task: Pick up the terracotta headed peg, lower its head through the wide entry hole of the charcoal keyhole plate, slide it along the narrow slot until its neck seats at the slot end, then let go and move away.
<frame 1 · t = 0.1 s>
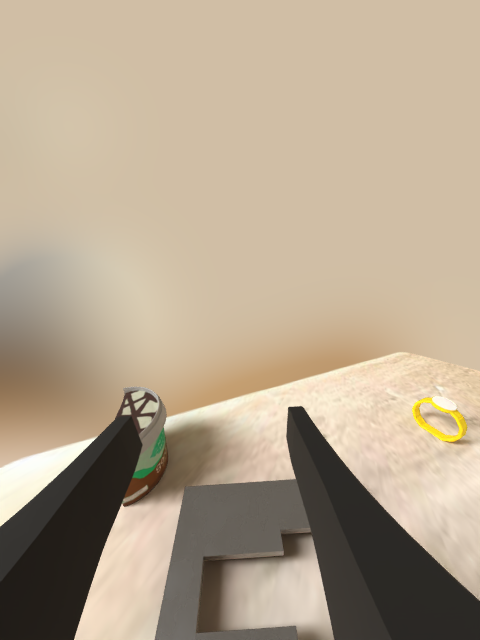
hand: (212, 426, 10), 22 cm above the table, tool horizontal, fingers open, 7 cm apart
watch: (432, 432, 32), on the table
keyhole plate: (271, 599, 18), on the table
food container: (154, 463, 30), on the table
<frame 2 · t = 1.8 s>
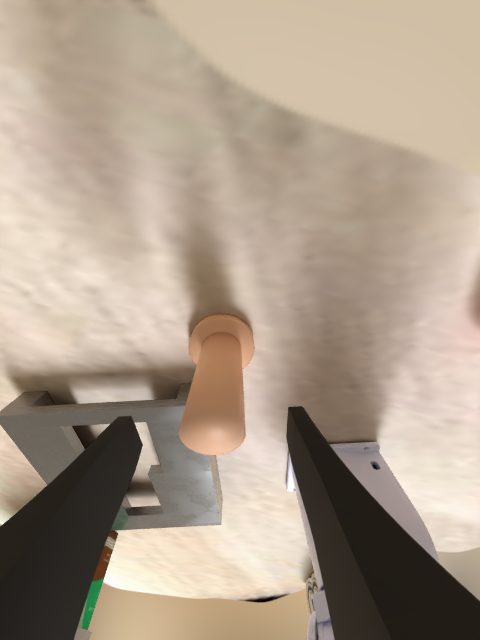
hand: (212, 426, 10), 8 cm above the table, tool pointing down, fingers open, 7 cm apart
decorative sign: (326, 557, 35), on the table
peg: (222, 342, 17), on the table
keyhole plate: (142, 458, 22), on the table
food container: (77, 527, 29), on the table
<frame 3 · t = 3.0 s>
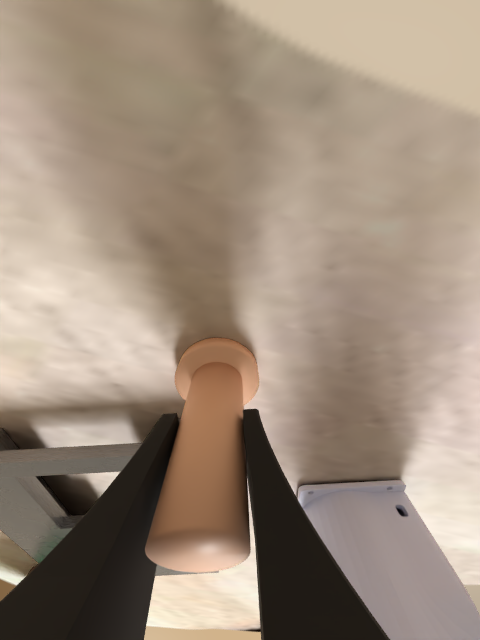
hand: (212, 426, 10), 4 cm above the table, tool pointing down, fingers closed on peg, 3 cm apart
peg: (218, 371, 13), on the table, touching gripper
keyhole plate: (125, 498, 19), on the table
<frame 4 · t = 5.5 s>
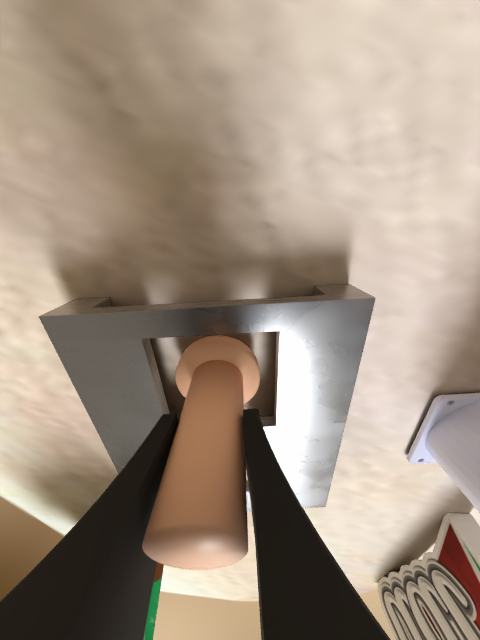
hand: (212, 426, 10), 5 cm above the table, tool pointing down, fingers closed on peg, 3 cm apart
decorative sign: (411, 552, 29), on the table
peg: (219, 369, 13), point 1 cm above the table, touching gripper
keyhole plate: (225, 413, 16), on the table
food container: (119, 514, 23), on the table
when the fingers open (4 cm above the table, at t = 8.2 s): peg stays where it is, on the table.
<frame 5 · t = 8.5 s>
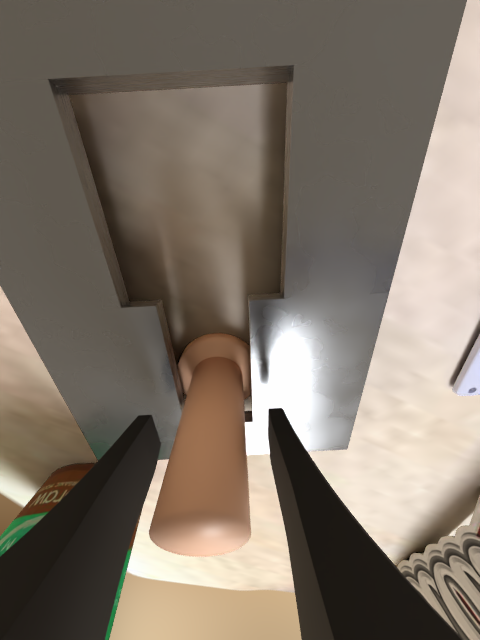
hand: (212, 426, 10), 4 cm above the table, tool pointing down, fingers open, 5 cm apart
decorative sign: (438, 529, 25), on the table
peg: (219, 366, 13), on the table
keyhole plate: (212, 312, 12), on the table
food container: (84, 474, 18), on the table
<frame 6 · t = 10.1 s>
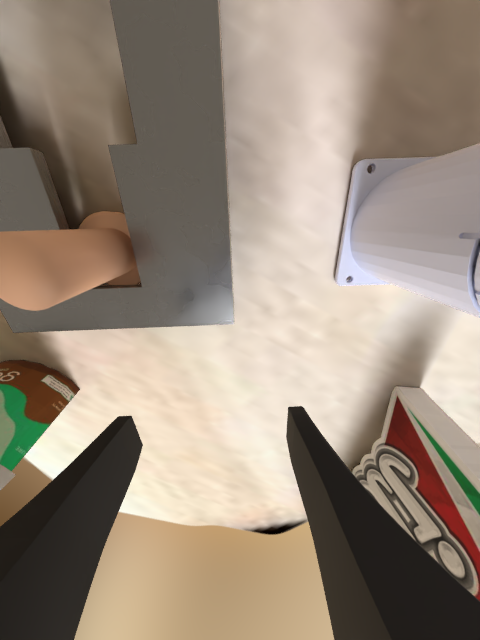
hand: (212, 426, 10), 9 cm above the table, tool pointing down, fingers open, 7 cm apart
decorative sign: (364, 455, 27), on the table
peg: (122, 250, 15), on the table
keyhole plate: (105, 188, 13), on the table
food container: (19, 375, 20), on the table
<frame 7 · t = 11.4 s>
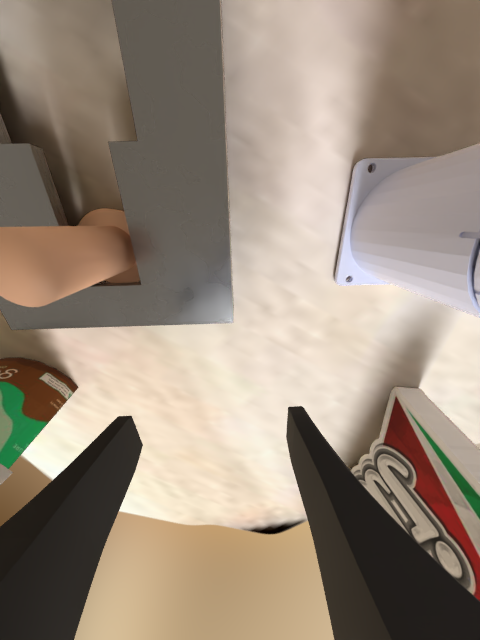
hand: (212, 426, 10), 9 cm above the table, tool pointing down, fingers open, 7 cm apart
decorative sign: (362, 455, 27), on the table
peg: (122, 248, 15), on the table
keyhole plate: (105, 185, 13), on the table
food container: (17, 373, 20), on the table
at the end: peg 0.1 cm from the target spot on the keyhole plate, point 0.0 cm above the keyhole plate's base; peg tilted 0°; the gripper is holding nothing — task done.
